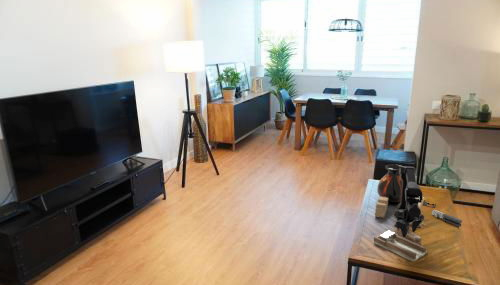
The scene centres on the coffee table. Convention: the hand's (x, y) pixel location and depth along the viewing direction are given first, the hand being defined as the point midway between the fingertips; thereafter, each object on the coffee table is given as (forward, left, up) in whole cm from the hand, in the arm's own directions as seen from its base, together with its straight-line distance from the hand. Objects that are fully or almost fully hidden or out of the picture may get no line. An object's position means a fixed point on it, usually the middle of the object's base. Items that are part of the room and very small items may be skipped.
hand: (408, 234), depth 192 cm
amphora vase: (-47, -40, -9) cm, 63 cm away
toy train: (-25, -34, -9) cm, 43 cm away
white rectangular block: (+3, -11, -8) cm, 14 cm away
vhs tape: (-66, -22, -9) cm, 71 cm away
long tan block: (-9, -4, -9) cm, 13 cm away
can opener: (-51, -3, -9) cm, 51 cm away
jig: (+3, -3, -9) cm, 10 cm away
